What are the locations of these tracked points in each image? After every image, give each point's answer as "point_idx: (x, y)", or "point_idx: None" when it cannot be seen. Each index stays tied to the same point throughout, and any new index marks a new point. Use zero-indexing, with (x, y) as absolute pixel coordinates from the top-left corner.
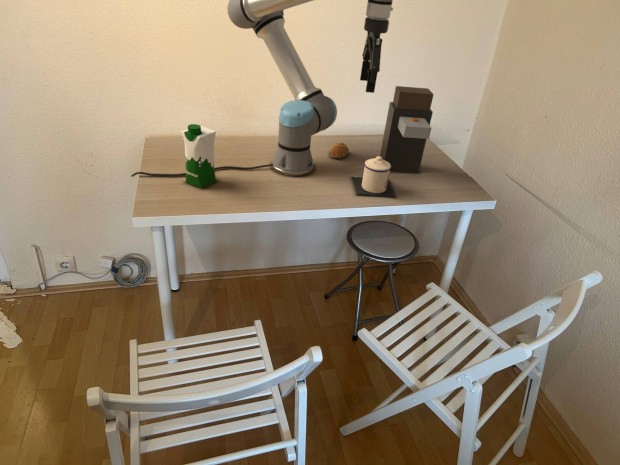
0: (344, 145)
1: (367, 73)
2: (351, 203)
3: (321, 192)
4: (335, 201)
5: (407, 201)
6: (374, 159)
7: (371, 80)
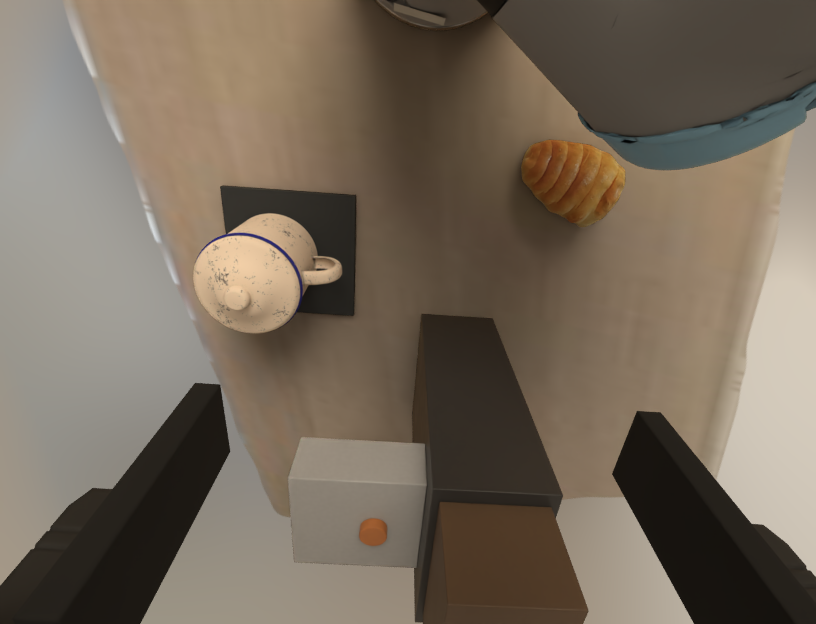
0: (593, 210)
1: (657, 530)
2: (157, 151)
3: (214, 38)
4: (154, 89)
5: (220, 335)
6: (242, 279)
7: (60, 525)
